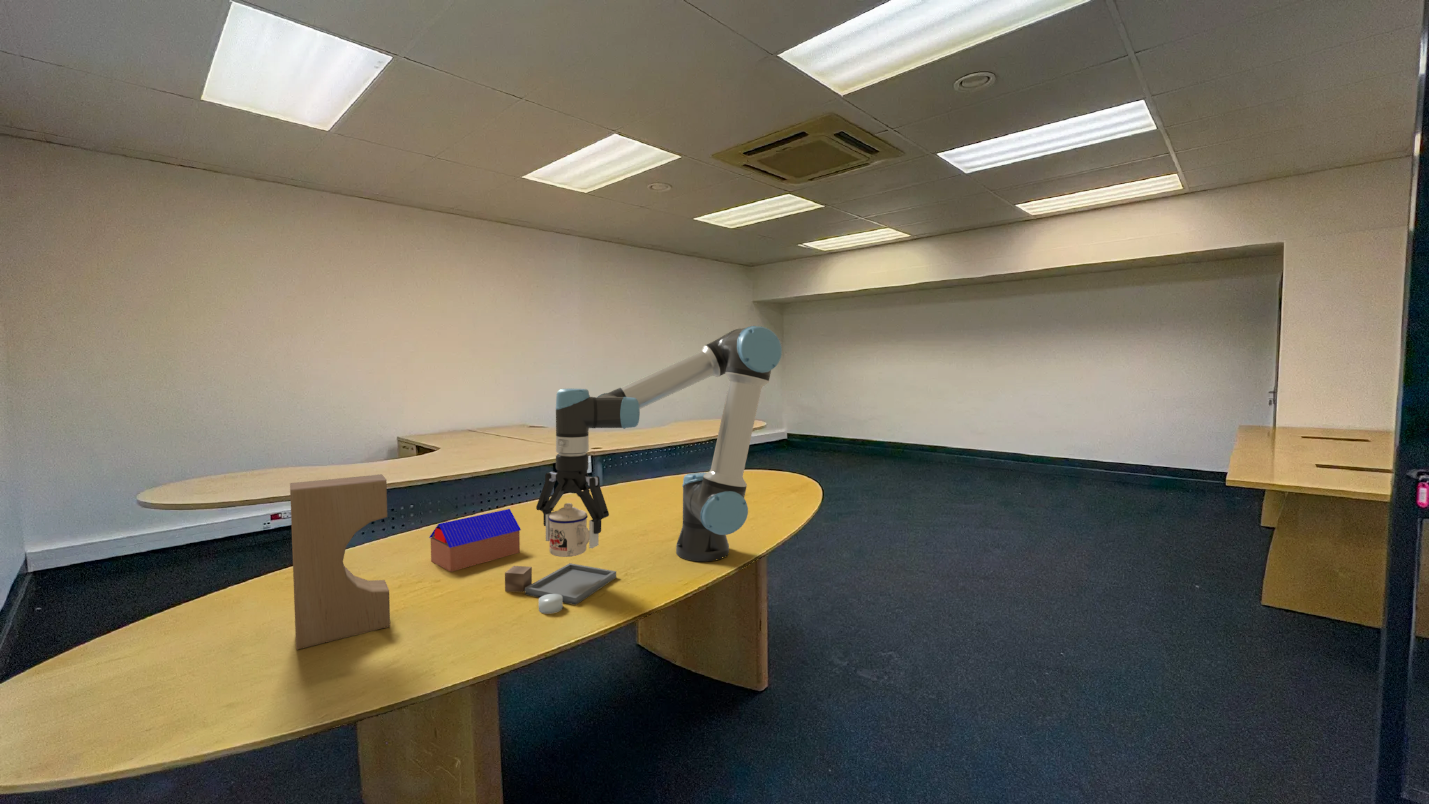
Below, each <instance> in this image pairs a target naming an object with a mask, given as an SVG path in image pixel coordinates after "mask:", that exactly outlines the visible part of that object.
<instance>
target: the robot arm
mask: <svg viewBox="0 0 1429 804" xmlns="http://www.w3.org/2000/svg"><path fill="white" fill-rule="evenodd" d="M782 351H783V349H782V343H781V340H780V339H779V338H778V336H777V334H776V333H775V332H774V331H773V330H771V329H770V328H768V327H764V326H759V325H758V326H756V325H751V326H747V327H742V328H737V329H733V330H731V331H729V332H727V333H725V334H724V335H722V336H720V337H718V338H716V339H715V340H713V341H711V342H708V343H707V344H705V345H702V348H701V350H700V351H698V352H696V353H693V354H691V355H688V356H687V357H685V358H682V359H680V360H678V361H676V362H674V363H671V364H669V365H667V366H665V367H662V368H661V369H658V370H655V371H654V372H652V373H649V374H647V375H645V376H643V377H642V376H641V377H640V378H638V379H635V380H634V381H632V382H629V383H627V384H625V385H622V386H620V387H618V388H616V389H613V390H612V391H609V392H604V393H602V394H600V395H598V396H596V397H595V396H590V392H589V390H588V389H587V388H569V387H568V388H561V389H559V390H557V392H556V399H555V452H556V453H557V454H556V455H555V469H556V471H557V472H555V470H554V471H550V472H546V473H545V475H544V479H545V480H544V484H543V487H542V489H541V492H540V496H539V498H538V500H537V504H536V508H535V509H536V511H541V513H542V514H543V523H542V524H543V527H545V541H546V542H550V520H549V515H550V514H551V513H552V512H555V507H556V506H557V504H558V503H559V501H560V499H561V498H562V496H563V495H564V494H565V493H570V494H576V496H577V497H579V499H580V500H581V501H582V503H583V505H584V507H585V509H586V510H587V512H588V514H589V516H590V517H591V519H590V520H589V521H588V522H589V523H588V525H589V526H588V527H589V528H588V530H589V542H588V546H589V547H588V548H589V549H594V548H595V547H598V546H599V536H600V535H599V534H600V533H601V532H602V520H603V519H606V518H607V517H609V516H610V513H609V509H608V506H607V503H606V501H605V497H604V494H603V492H602V489H601V485H600V484H601V483H600V482H601V481H600V479H601V478H600V476H598V475H596V476H589V474H588V471H589V454H588V453H589V447H590V446H589V445H590V444H589V442H590V441H589V438H590V437H589V436H590V435H589V432H590V431H589V429H629V428H630V429H631V428H637V426H638V425H639V422H640V410H641V409H643V408H645V407H648V406H650V405H652V404H655V403H656V402H658V401H660V400H663V399H664V398H667V397H669V396H671V395H674V394H675V393H677V392H680V391H682V390H685V389H686V388H688V387H689V388H690V386H693V385H696V384H697V383H699V382H701V381H704V380H706V379H708V378H710V377H712V376H714V377H715V378H718V377H721V376H723V375H726V377H727V378H728V380H729V381H728V385H727V391H726V396H725V402H724V405H723V409H722V414H721V419H720V425H719V428H718V432H717V433H718V435H717V438H716V439H717V440H716V443H715V448H714V453H713V457H712V461H711V466H710V469H709V471H707V472H695V473H694V472H693V473H687V474H685V475H684V476H683V482H682V527H681V529H680V533H679V535H678V539H677V542H676V545H675V550H676V551H675V552H676V555H677V556H678V557H679V558H681V559H684V560H687V561H692V562H713V560H715V561H717V560H716V559H719V560H722V559H723V558H722V557H725V556H726V555H727V556H728V555H729V554H730V544H729V541H728V538H727V535H732V534H734V533H735V532H737V531H738V530H740V529H741V528H742V527H743V525H744V524H745V522H746V521H747V518H748V515H749V506H748V503H747V501H746V499H745V497H746V491H747V487H748V485H747V483H746V481H745V479H744V472H745V468H746V462H747V459H748V453H749V448H750V443H751V439H752V435H753V430H754V424H755V421H756V415H757V410H758V406H759V401H760V397H761V392H762V388H763V387H764V386H766V385H768V384H769V382H770V378H771V375H772V374H771V373H772V371H773V370H774V369H775V368H776V367H777V366H778V364H779V363H780V362H781V358H782V355H783V354H782V353H783V352H782ZM556 481H557V483H558V484H557V485H556V487H555V484H556ZM588 486H589V487H588ZM554 487H555V488H554ZM553 489H554V492H553ZM552 492H553V493H552ZM728 553H729V554H728ZM727 556H726V557H727ZM726 557H725V558H726ZM721 558H722V559H721Z"/></svg>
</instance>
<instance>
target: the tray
mask: <svg viewBox="0 0 1429 804" xmlns="http://www.w3.org/2000/svg"><path fill="white" fill-rule="evenodd" d="M614 579H617V571H616V570H610V569H605V568H599V567H593V566H588V565H583V564H576V563H572V562H571V563H570V562H569V563H567V564H565V565H563V566H562V567H559V568H558V569H557V570H555V571H552V572H551V573H549V574H547V575H545V576H544V577H542V578H540V579H538V580H536V581H535V582H532V584H531V585H529V586H527V587H525V591H524V595H525V596H530V597H535V598H538V599H539V598H540V597H542V596H544V595H547V594H559V595H561V596H562V597H563V603H564V604H569V605H573V606H576V605H578V604H579V603H581V602H582V601H584V600H585V599H586V598H587V599H588V597H590V596H591V595H593V594H594V593H595V592H597V591H599V590H600V589H602V588H603V587H604V586H606V585H607V584H609V583H610V582H612V581H613V580H614Z"/></svg>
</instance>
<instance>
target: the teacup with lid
mask: <svg viewBox="0 0 1429 804" xmlns="http://www.w3.org/2000/svg"><path fill="white" fill-rule="evenodd" d="M551 512H552V513H551V514H550V515H549V520H550V541H549V553H550V554H551V555H552V556H555V557H560V558H567V557H568V558H571V557H575V556H579V555H582V554H584V553H585V552H586V551H587V545H589V528H588V527H587V520H588V519H587V518H588V513H587V512H586V511H585V510H582V509H579V508H577V507H574V505H573V503H571V502H565V503H564V504H563V507H561V508H559V509H558V510H554V511H551Z"/></svg>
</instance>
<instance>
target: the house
mask: <svg viewBox="0 0 1429 804" xmlns="http://www.w3.org/2000/svg"><path fill="white" fill-rule="evenodd" d="M520 531H522V529H521V527H520V525H519V523H518V522H517V519H516V517H515V516H514V515H513V512H512V511H511V509H510V508H507V509H503V510H502V509H501V510H497V511H494V512H493V511H492V512H489V513H488V512H487V513H483V514H478V515H474V516H469V517H464V518H461V519H455V520H450V521H446V522H441V523H438V524H437V525H436V527H435V529H433V531H432V533H430V535H429V537H428V538H429V539H430V561H431V563H434V564H436V565H437V566H439V567H441V568H443V569H444V570H446V571H448V572H450V573H451V572H452V573H453V572H455V571H458V570H459V571H460V570H461V569H462V568H463V569H465V568H468V567H469V566H470V567H472V566H476V564H477V565H480V564H483V563H486V562H491V561H494V560H498V559H501V558H504V557H508V556H511V555H515V554H519V553H520V550H521V549H520V548H521V547H520V545H521V544H520V537H521V536H520ZM470 567H469V568H470ZM463 569H462V570H463Z"/></svg>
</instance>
